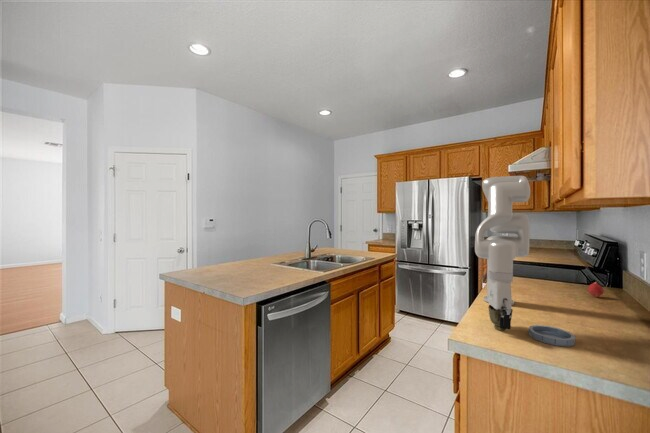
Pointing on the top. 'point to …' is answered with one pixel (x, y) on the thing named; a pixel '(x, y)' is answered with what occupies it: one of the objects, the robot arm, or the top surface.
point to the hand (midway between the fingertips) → (500, 323)
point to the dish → (552, 335)
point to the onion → (595, 289)
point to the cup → (496, 317)
